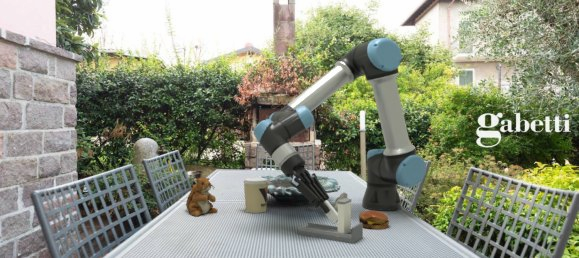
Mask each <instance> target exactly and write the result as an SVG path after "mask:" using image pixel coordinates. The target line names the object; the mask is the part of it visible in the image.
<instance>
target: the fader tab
mask: <svg viewBox="0 0 579 258" xmlns="http://www.w3.org/2000/svg"><path fill="white" fill-rule="evenodd" d="M337 204H338V221H337V227H338V233H343V234H348V233H349V232H351V229H352V227H351V225H352V199H351V198H348V199H347V198H346V199H345V198H344V199H342V200H339V201H337Z"/></svg>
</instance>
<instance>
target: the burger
mask: <svg viewBox="0 0 579 258" xmlns="http://www.w3.org/2000/svg"><path fill="white" fill-rule="evenodd" d="M358 221H359V223H363V228H366V229H372V230H384V229H386V228H388V226H389V224H390V220H389V217H388V215H387V214H386V213H384V212H381V211H379V210H366V211H365V210H364V211H363V212H361V213H360V214H359V215H358Z"/></svg>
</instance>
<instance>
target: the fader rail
mask: <svg viewBox="0 0 579 258" xmlns="http://www.w3.org/2000/svg"><path fill="white" fill-rule="evenodd" d="M363 229H364V227H363V223H360V222H359V223H357V224H356V225H353V226H352V227H351V232H349V233H348V234H343V233H338V225H337V226H336V225H329V224H325V223H324V224H323V223H322V224H321V223H317V222H315V223H314V222H307V226H305V227H304V226H298V227H297V235H300V236H306V237H312V238H316V239H317V238H319V239H325V240H330V241H337V242H343V243H346V244H347V243H349V244H355V243H357V242H358V241H359V240H361V239H362V238H363V237H364V235H363V233H364V232H363Z"/></svg>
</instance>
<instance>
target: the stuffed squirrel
mask: <svg viewBox="0 0 579 258" xmlns="http://www.w3.org/2000/svg"><path fill="white" fill-rule="evenodd" d="M209 180H210V178H209V177H198V178H193V181H194V183H195V184H193V185H192V187H191V189H190V193H189V194H188V196H187V197H186V204H185V207H186V210H188V211H189V214H190V215H191V216H193V217H199V216H200V215H204V214H207V213H208V214H215V213H218V211H219V210H218V208H216V207H214V205H213V203H215V202H216V196H215V195H213V194H211V193H210V192H209V191H210V190H211V189H212V190H214V189H215V186H214V184H212V183H211V181H209Z"/></svg>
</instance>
